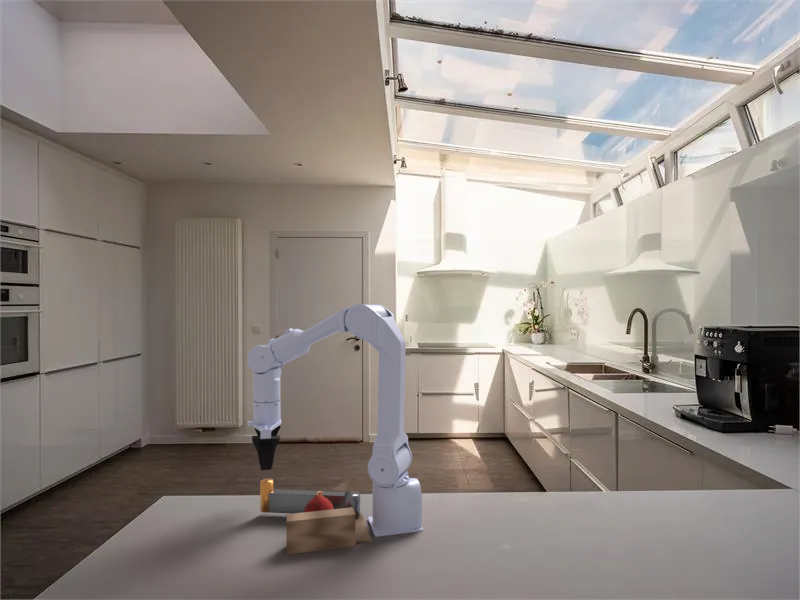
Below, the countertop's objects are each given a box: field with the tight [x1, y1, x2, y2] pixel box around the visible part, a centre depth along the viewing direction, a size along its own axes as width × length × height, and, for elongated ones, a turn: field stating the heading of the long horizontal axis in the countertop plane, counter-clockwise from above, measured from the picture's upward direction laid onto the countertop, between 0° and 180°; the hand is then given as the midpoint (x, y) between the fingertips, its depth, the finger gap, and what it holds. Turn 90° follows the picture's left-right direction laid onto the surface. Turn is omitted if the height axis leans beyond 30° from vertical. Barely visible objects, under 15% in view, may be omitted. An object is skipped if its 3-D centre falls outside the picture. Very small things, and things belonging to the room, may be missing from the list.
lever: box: [259, 477, 361, 517], centre depth 98 cm, size 21×3×6 cm, turn 84°
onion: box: [304, 490, 334, 512], centre depth 91 cm, size 6×6×8 cm
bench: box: [286, 507, 372, 555], centre depth 91 cm, size 15×13×6 cm
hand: (267, 463), depth 103 cm, fingers open, 7 cm apart
